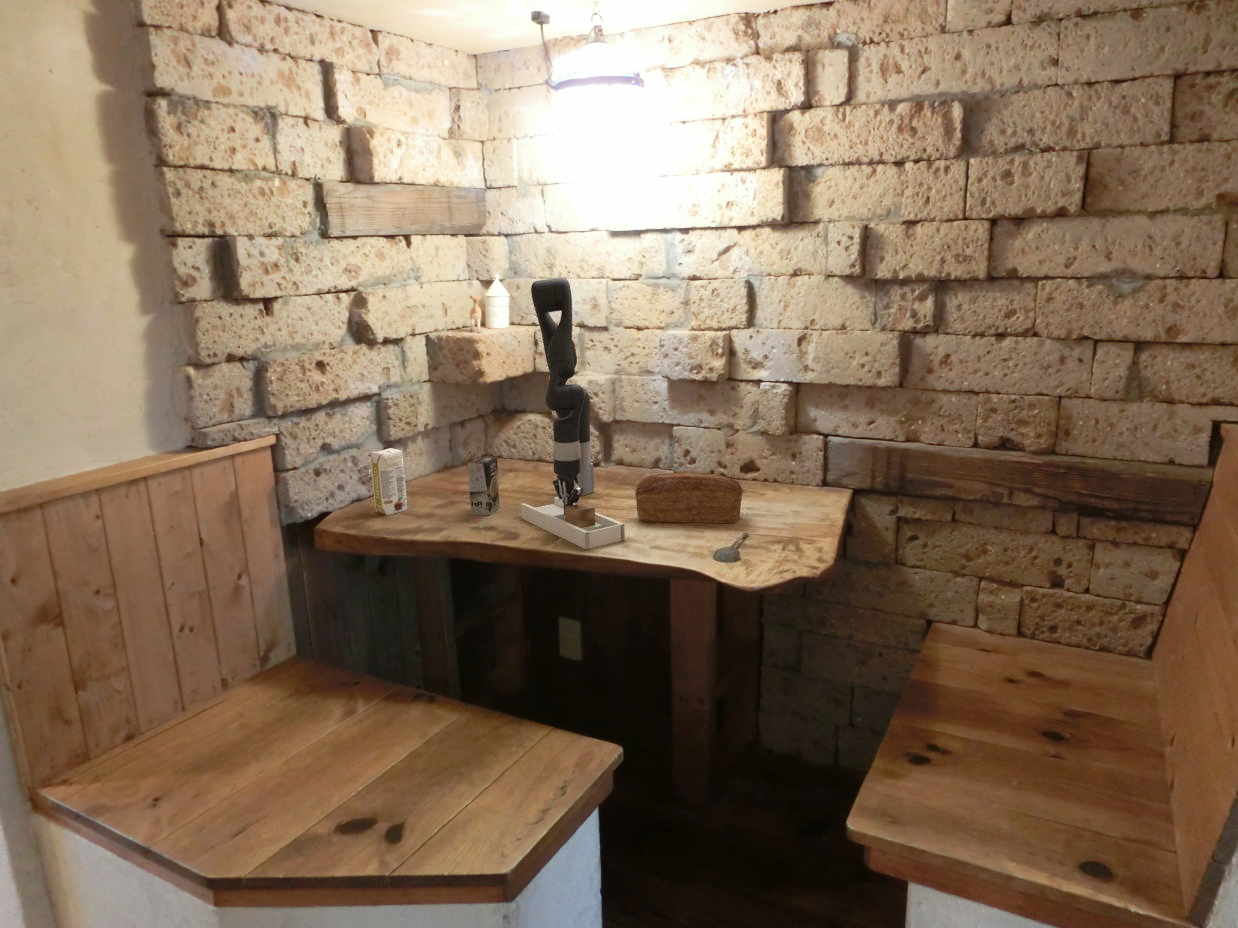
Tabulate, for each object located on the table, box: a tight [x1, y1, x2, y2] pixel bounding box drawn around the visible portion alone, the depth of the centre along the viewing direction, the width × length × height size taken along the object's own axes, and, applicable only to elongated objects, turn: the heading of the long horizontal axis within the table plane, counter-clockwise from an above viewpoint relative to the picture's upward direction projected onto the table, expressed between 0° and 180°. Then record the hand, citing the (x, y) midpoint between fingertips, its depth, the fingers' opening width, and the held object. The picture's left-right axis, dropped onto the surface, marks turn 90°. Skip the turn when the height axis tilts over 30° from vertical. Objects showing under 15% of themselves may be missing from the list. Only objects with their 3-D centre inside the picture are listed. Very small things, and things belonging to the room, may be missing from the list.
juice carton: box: [370, 447, 408, 516], centre depth 258 cm, size 8×9×19 cm
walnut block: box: [565, 502, 596, 528], centre depth 234 cm, size 6×6×5 cm
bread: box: [634, 471, 744, 524], centre depth 245 cm, size 12×31×14 cm, turn 82°
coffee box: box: [467, 456, 501, 516], centre depth 257 cm, size 9×6×16 cm
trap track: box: [520, 496, 626, 550], centre depth 239 cm, size 12×35×4 cm, turn 35°
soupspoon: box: [712, 531, 750, 564], centre depth 220 cm, size 22×3×7 cm
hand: (568, 515), depth 239 cm, fingers closed
